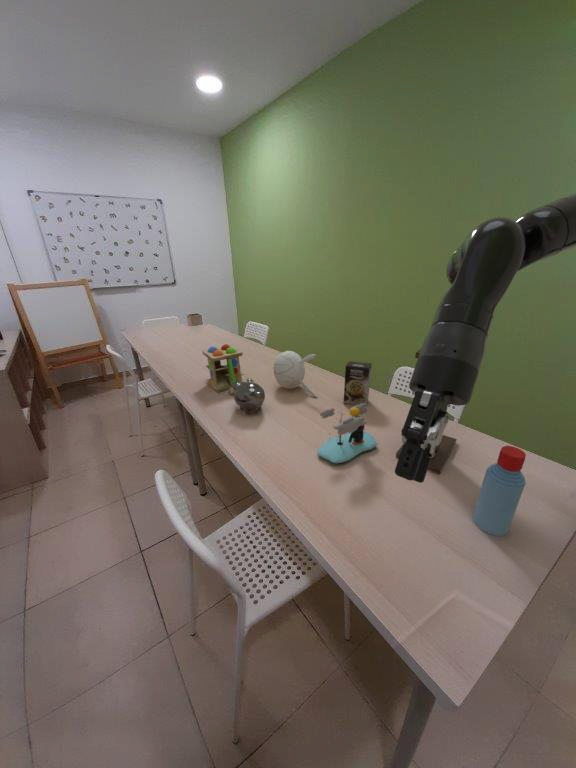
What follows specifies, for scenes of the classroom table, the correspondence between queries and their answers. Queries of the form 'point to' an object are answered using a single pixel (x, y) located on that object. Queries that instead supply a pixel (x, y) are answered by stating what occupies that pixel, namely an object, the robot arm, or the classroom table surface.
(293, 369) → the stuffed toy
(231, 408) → the classroom table surface
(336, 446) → the penguin figurine
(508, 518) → the bottle
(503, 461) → the cap
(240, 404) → the piggy bank
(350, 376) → the coffee box
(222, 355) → the pounding bench toy
